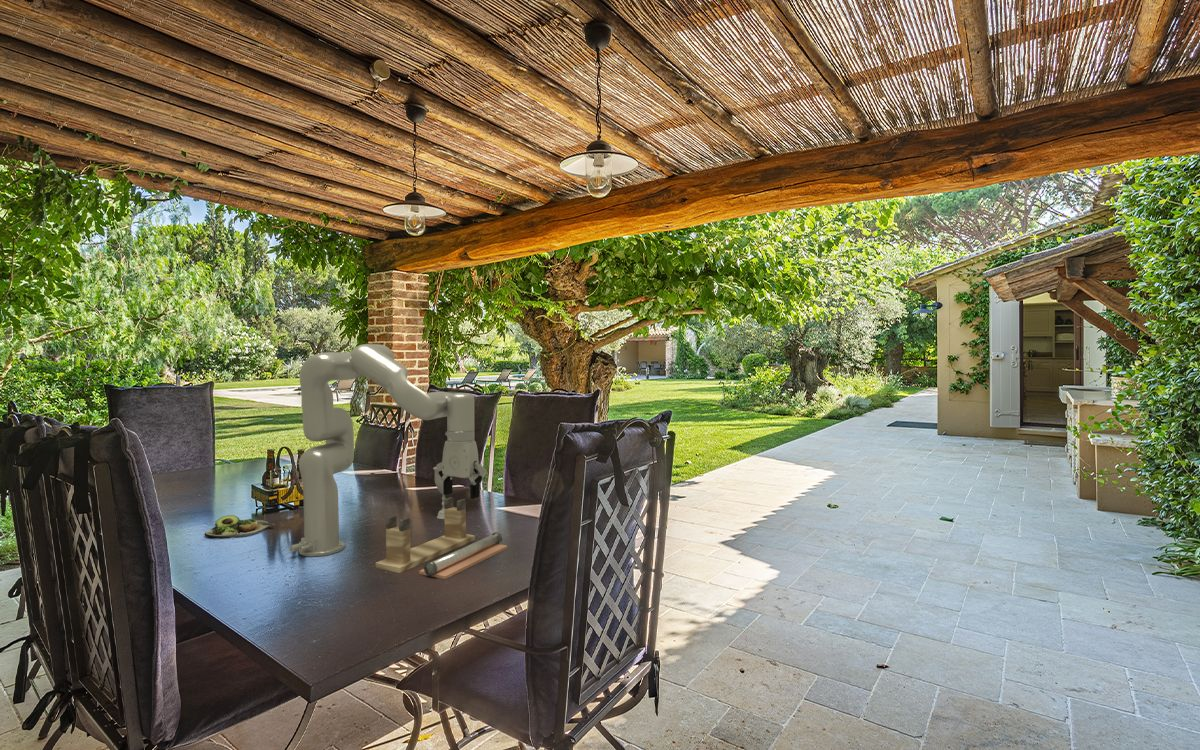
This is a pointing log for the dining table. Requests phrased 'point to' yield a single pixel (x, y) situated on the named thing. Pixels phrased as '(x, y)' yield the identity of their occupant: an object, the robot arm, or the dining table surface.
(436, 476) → the chalice
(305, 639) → the dining table surface
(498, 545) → the terracotta mat
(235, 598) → the dining table surface
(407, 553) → the rail stand
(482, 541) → the steel rail
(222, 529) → the salad plate
